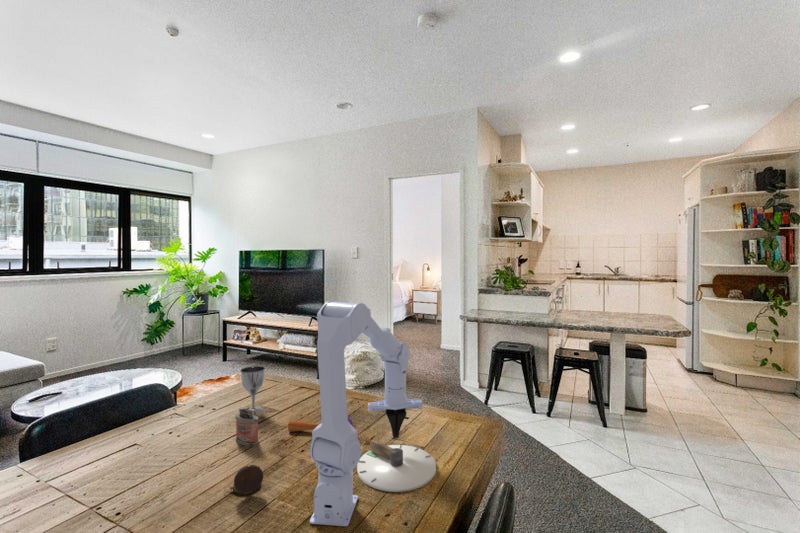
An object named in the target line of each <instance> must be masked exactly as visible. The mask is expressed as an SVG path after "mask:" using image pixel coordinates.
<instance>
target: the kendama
mask: <svg viewBox="0 0 800 533" xmlns="http://www.w3.org/2000/svg"><path fill="white" fill-rule="evenodd" d="M347 417H348V422H349V423H350V424H351V425H352V426H353V427H354V424H353V420H352V418H350V417H349V416H348V415H347ZM319 424H320V423H315V422H314V423H313V422H307V421H306V422H305V421H297V420H289V422H288V425H287V430H288V432H289V433H292V432H293V433H294V432H302V431H310V430H314V429H315V428H316V427H317V426H318V425H319Z"/></svg>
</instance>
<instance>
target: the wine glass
mask: <svg viewBox="0 0 800 533" xmlns="http://www.w3.org/2000/svg"><path fill="white" fill-rule="evenodd" d="M265 377H266V367H265V366H263V365H250V366H245V367H243V368H241V369H240V381H241V385H242V387H243V389H244V390H246V391H247V393H249V394H250V396H251V397H250V398H251V407H249V408H250V409H253V410H256V415H254V416H258V415H260V414H263V413H264V412H265V409H264V407H263V408H262V407H255V406H256V405H255V401H256V395H257V393H258V392H259V390H260V389H261V387H262V386H263V384H264V382H265Z"/></svg>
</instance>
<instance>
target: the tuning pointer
mask: <svg viewBox="0 0 800 533" xmlns="http://www.w3.org/2000/svg"><path fill="white" fill-rule="evenodd" d="M369 443H370V447H369V448H370V450H369V451H371V452H373V453H376V454H378V455H380V456H382V457H384V458H386V459H388V460H390V464H391V465H392V466H401V465H402V464H403V450H402V449H399V448H394V449H393V448H391V447H389V446H388V445H387V444H383V443H382V442H380V441H378V440H376V439H372V440H370V441H369Z"/></svg>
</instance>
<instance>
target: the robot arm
mask: <svg viewBox="0 0 800 533" xmlns="http://www.w3.org/2000/svg"><path fill="white" fill-rule="evenodd" d="M316 317H317V318H316V320H317V321H316V322H317V333H318V334H317V335H318V336H317V343H316V344H317V345H316V346H317V347H316V348H317V350H316V352H317V364H318V365H317V367H318V381H319V398H320V400H319V402H320V413H321V414H320V416H321V423H318V424H319V425H318V426H317V427H316V428H315V429H312V432H311V434H312V435H311V436H312V437H311V442H310V447H309V448H310V449H309V455H310V458H311V460H312V461H314V462H315V468H317V469H318V481H317V484H316V487H315V489H314V494H313V513H312V515H311V517H310V519H309V524H311V525H324V526H337V527H348V526H349V524H350V522H351V518H352V516H353V513H354V510H355V507H356V505H357V502H358V500H359V496H358V495H357V494H354V488H353V487H354V486H353V485H354V483H353V482H354V480H353V479H354V477H353V476H354V475H353V473H354V471H353V470H354V469H355V468H357V464H358V462H359V460H360V458H361V457H362V455H361V454H362V448H361V443H360V441H359V437H358V432H357V430H356V428H354V425H353V426H352V425H351V424H350V423H349V422H348V417H349V416H348V401H347V399H348V398H347V384H346V383H347V382H346V381H347V380H346V379H347V378H346V362H345V349H346V347H347V346H349V345H352V344H353V343H354V342H355V341H356V340H357V339H358V338H359V337H360V336H361V334H364V335H365V336H366V337H367V338H369V343H370V346H371V347H372V348H374V349H375V351H377V352H378V354H379V357H380V360H381V361H382V362H384V399H383V400H378V401H374V402H373V401H372V402H368V403H367V406H368V407H367V410H368V413H373V412H381V411H382V412H383V411H385V415H386V417H387V419H388V421H389V424H390V428H391V433H392V438H393V439H398V438H399V436H400V431H401V427H402V425H403V423H404V420H405V418H406V417H407V410H413V409H418V410H423V401H422V399H412V398H411V399H410V398H407V370H408V369H409V360H410V357H411V351H410V346H409V345H407V343H405V342H402V341H400V340H399V339H398V337H397V336H395V334H393V333H392V332H391V329H390V328H389V327H380V326H379V324H378V323H377V322H376V320H375V319H374V318H373V317H372V311H371V309H370V308H369V307H368V306H367V304H365V303H363V302H357V303H355V302H341V301H334V300H328V301H325V303H324V304H322V306H321V308H319V310H318V312H317V313H316ZM347 416H348V417H347Z"/></svg>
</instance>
